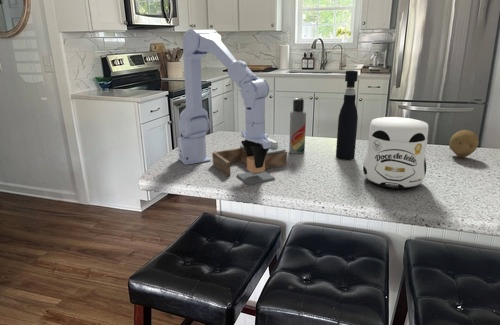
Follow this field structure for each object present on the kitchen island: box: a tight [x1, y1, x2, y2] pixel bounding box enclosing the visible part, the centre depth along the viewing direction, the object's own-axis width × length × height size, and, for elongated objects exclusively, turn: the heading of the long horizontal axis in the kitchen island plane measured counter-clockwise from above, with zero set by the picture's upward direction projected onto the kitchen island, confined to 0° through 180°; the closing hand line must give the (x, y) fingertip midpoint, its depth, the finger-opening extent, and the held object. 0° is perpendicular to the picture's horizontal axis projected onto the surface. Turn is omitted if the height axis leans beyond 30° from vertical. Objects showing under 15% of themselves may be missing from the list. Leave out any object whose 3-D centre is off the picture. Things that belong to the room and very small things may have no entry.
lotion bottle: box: [288, 97, 307, 155], centre depth 135 cm, size 6×6×20 cm
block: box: [246, 156, 266, 173], centre depth 113 cm, size 4×4×4 cm
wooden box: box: [211, 147, 288, 177], centre depth 125 cm, size 22×12×4 cm, turn 118°
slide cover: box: [239, 137, 287, 155], centre depth 126 cm, size 11×12×3 cm
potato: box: [448, 129, 480, 159], centre depth 129 cm, size 9×9×10 cm
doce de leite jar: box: [362, 116, 429, 190], centre depth 107 cm, size 17×17×18 cm
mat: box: [236, 170, 276, 186], centre depth 114 cm, size 9×8×1 cm
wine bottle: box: [335, 70, 359, 161], centre depth 127 cm, size 6×6×30 cm
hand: (255, 165), depth 113 cm, fingers closed on block, 4 cm apart
